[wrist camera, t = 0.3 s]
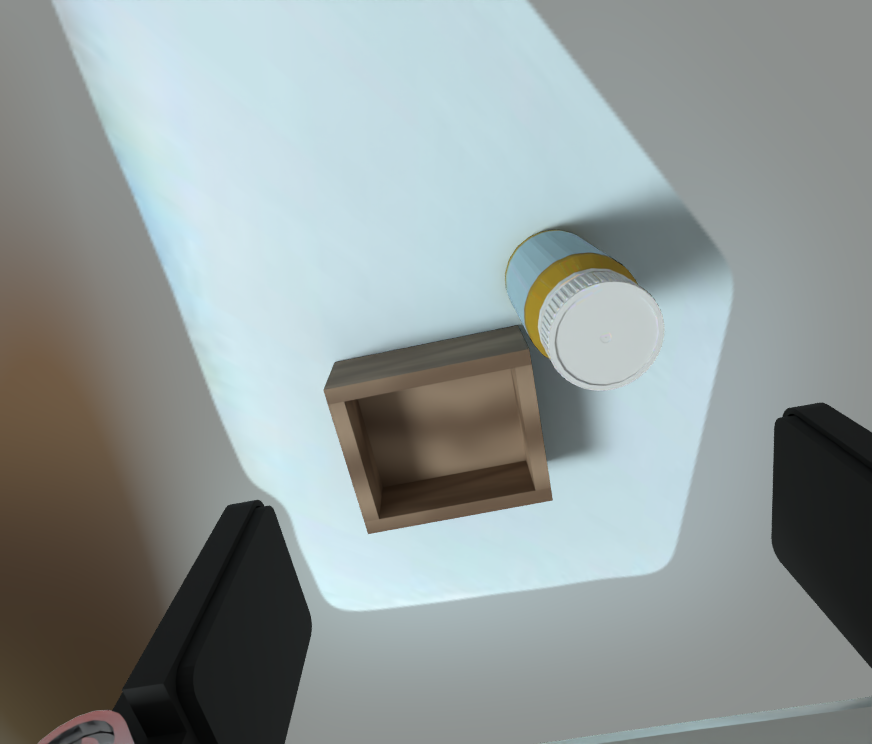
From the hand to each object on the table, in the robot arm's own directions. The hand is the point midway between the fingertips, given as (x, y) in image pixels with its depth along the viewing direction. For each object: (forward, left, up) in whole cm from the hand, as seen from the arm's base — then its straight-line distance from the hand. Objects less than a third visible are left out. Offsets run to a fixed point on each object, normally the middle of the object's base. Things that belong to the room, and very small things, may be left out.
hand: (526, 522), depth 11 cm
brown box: (+15, -4, -35) cm, 38 cm away
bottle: (+5, +7, -35) cm, 36 cm away
